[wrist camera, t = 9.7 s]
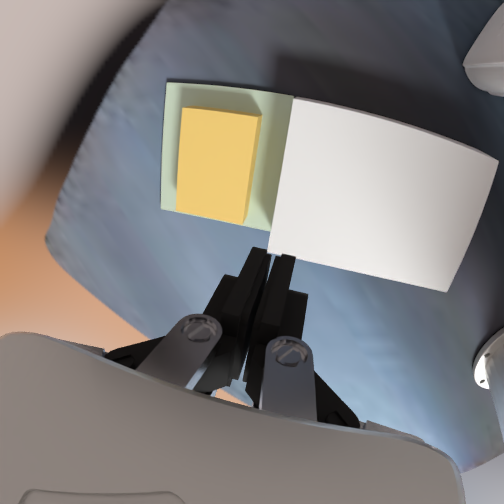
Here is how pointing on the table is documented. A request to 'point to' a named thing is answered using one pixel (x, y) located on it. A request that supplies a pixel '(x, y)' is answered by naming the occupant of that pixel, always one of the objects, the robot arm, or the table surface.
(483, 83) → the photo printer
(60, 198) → the table surface
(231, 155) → the tile
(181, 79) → the table surface
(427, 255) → the plate
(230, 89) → the mat
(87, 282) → the table surface
